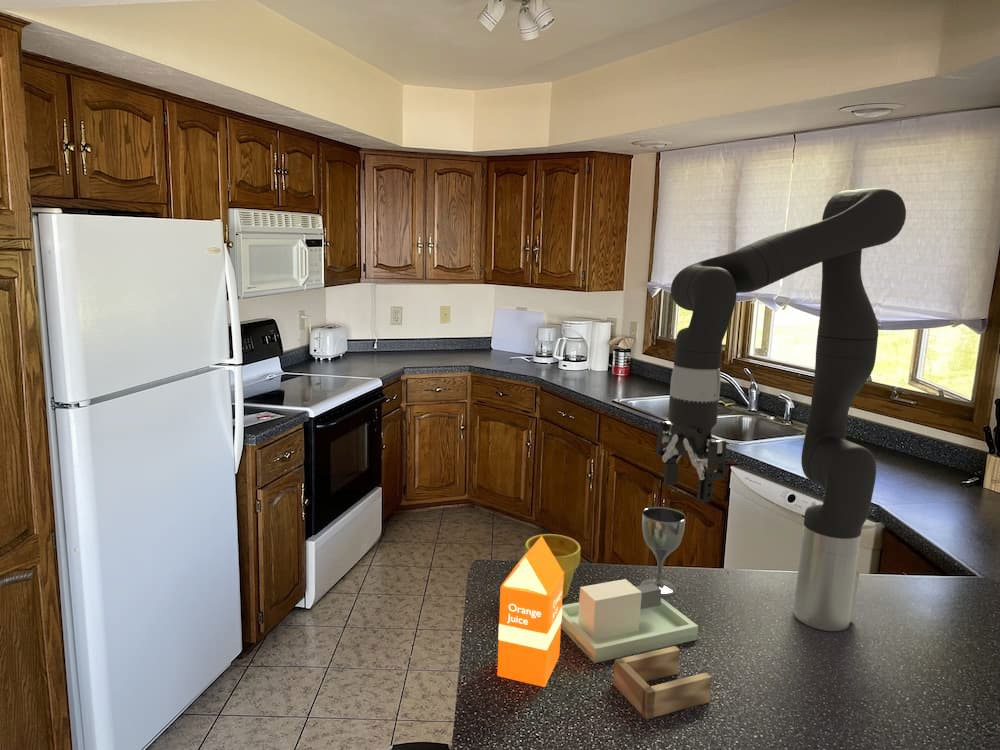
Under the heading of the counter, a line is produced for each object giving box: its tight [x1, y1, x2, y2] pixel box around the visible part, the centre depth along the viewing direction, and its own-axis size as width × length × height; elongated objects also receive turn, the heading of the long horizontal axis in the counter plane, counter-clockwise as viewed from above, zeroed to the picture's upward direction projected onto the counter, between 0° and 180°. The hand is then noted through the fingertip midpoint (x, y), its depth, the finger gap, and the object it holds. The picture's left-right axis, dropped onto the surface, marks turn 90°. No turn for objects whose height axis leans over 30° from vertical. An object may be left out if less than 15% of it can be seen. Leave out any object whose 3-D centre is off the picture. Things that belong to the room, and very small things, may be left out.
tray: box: [561, 597, 699, 664], centre depth 121 cm, size 20×14×2 cm
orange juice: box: [496, 536, 564, 688], centre depth 108 cm, size 8×9×20 cm
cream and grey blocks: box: [578, 578, 662, 640], centre depth 121 cm, size 14×5×7 cm, turn 113°
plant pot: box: [524, 533, 582, 600], centre depth 133 cm, size 10×10×10 cm
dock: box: [612, 645, 713, 720], centre depth 104 cm, size 11×9×4 cm
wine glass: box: [639, 506, 686, 597], centre depth 136 cm, size 8×8×15 cm
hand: (686, 492), depth 114 cm, fingers open, 8 cm apart
